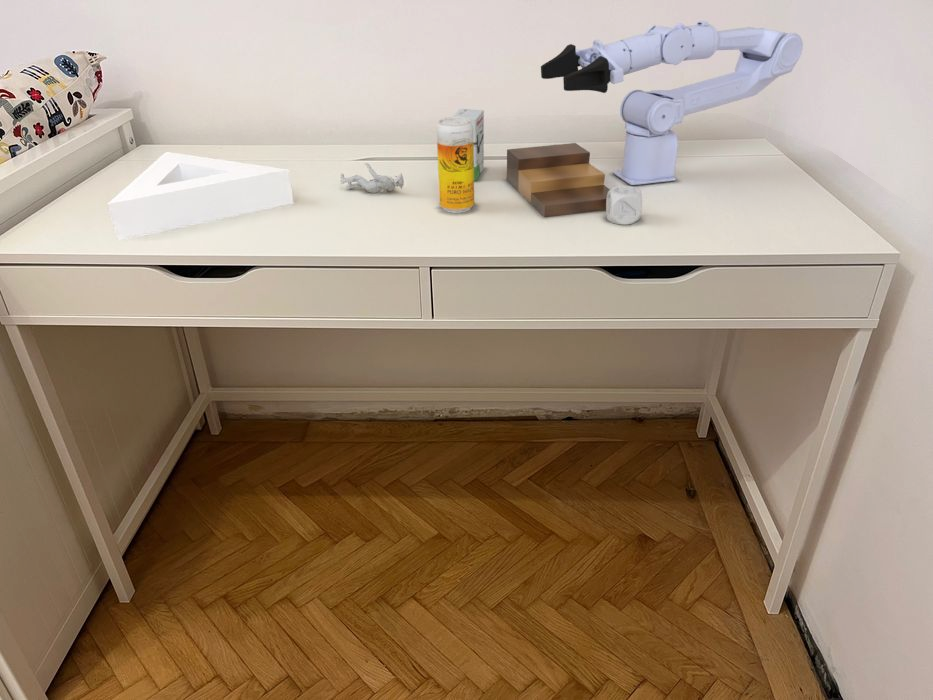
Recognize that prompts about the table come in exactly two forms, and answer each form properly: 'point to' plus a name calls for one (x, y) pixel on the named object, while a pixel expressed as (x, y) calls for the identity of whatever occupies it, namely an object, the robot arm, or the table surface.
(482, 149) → the ink box
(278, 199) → the triangle block
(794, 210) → the table surface
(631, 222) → the die
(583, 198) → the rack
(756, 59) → the robot arm
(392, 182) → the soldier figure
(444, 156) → the beer can
